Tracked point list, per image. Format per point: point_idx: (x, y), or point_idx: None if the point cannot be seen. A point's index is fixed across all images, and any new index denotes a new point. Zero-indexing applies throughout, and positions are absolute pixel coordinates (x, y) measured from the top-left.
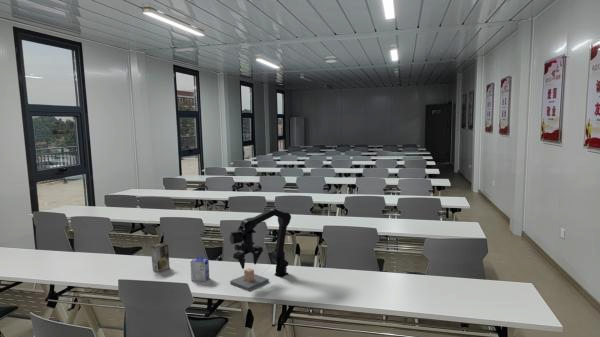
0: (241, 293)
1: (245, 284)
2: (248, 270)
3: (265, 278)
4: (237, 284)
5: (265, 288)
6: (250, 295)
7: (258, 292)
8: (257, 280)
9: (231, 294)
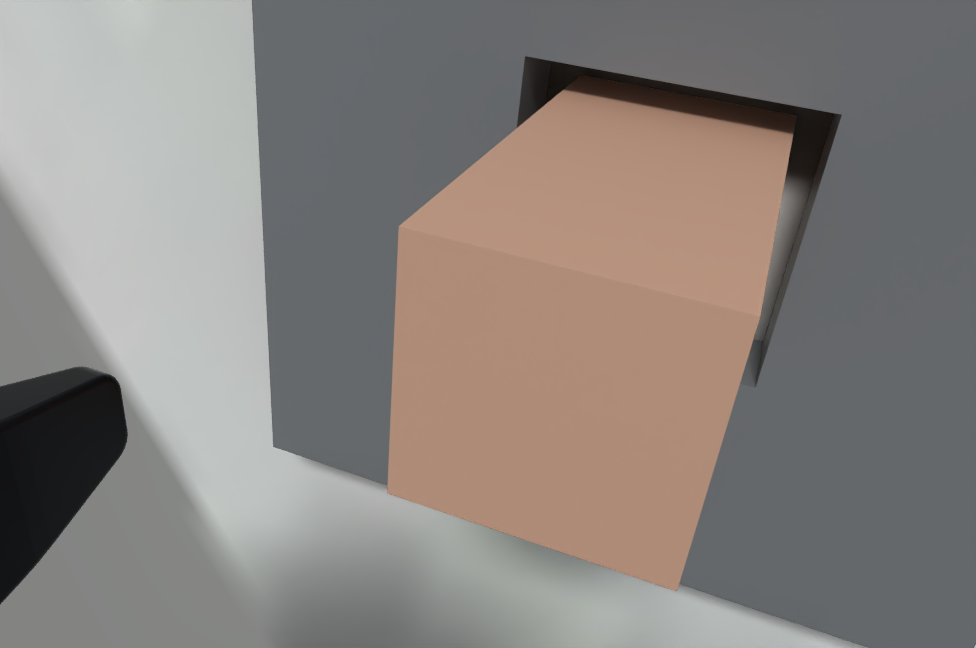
0: (169, 345)
1: (351, 302)
2: (480, 424)
3: (961, 598)
4: (267, 68)
5: (581, 643)
6: (226, 516)
7: (380, 588)
8: (719, 459)
9: (24, 198)
